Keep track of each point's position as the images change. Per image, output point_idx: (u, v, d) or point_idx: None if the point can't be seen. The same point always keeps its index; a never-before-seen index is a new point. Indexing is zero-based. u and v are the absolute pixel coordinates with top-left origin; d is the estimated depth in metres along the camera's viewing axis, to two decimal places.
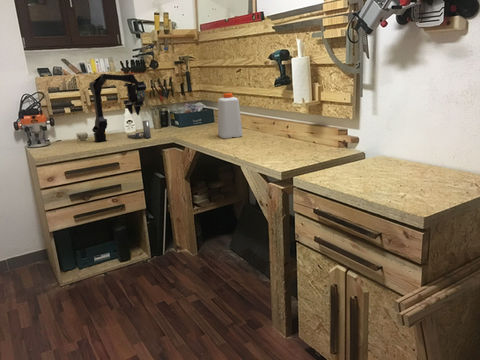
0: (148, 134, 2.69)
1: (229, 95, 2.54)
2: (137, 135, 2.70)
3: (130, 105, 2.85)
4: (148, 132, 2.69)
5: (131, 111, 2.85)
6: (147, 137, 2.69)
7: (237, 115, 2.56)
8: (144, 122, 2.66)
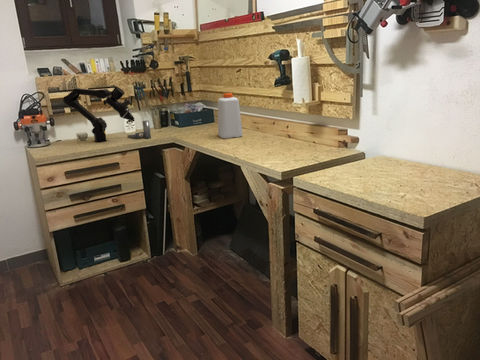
0: (148, 134, 2.69)
1: (229, 95, 2.54)
2: (137, 135, 2.70)
3: None
4: (148, 132, 2.69)
5: (131, 117, 2.70)
6: (147, 137, 2.69)
7: (237, 115, 2.56)
8: (144, 122, 2.66)
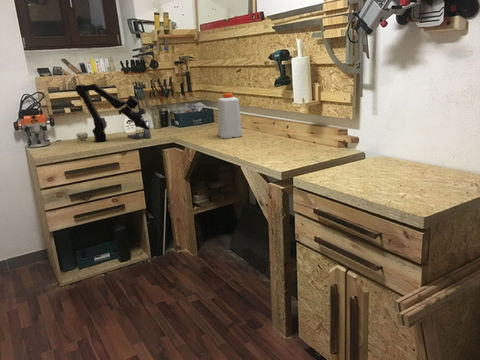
0: (148, 134, 2.69)
1: (229, 95, 2.54)
2: (137, 135, 2.70)
3: None
4: (148, 132, 2.69)
5: None
6: (147, 137, 2.69)
7: (237, 115, 2.56)
8: (144, 122, 2.66)
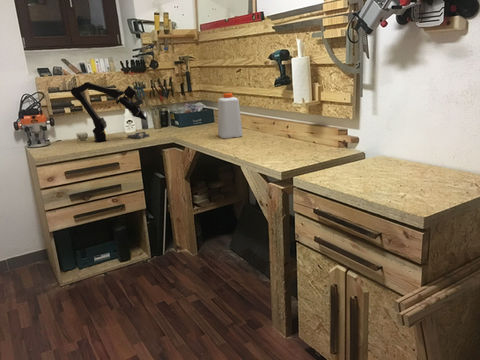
0: (145, 124, 2.68)
1: (229, 95, 2.54)
2: (137, 135, 2.70)
3: None
4: (146, 122, 2.68)
5: None
6: (144, 127, 2.68)
7: (237, 115, 2.56)
8: (142, 112, 2.65)
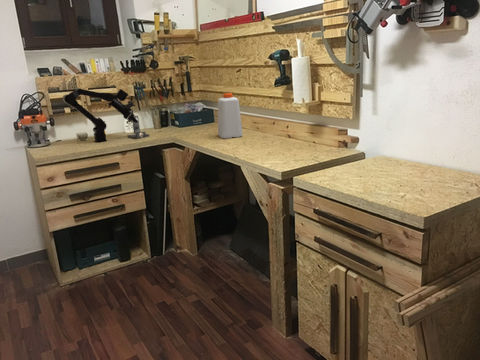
0: (137, 129, 2.76)
1: (229, 95, 2.54)
2: (137, 135, 2.70)
3: None
4: (137, 127, 2.76)
5: None
6: (136, 132, 2.76)
7: (237, 115, 2.56)
8: None
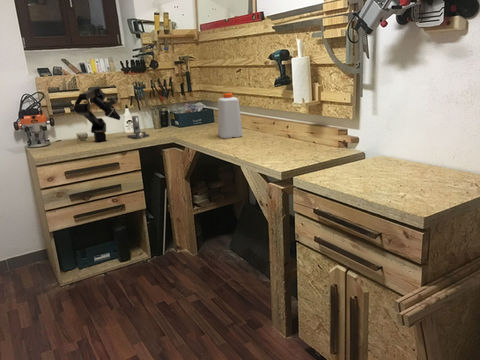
0: (137, 129, 2.76)
1: (229, 95, 2.54)
2: (137, 135, 2.70)
3: None
4: (137, 127, 2.76)
5: (118, 116, 2.77)
6: (136, 132, 2.76)
7: (237, 115, 2.56)
8: (133, 117, 2.73)
